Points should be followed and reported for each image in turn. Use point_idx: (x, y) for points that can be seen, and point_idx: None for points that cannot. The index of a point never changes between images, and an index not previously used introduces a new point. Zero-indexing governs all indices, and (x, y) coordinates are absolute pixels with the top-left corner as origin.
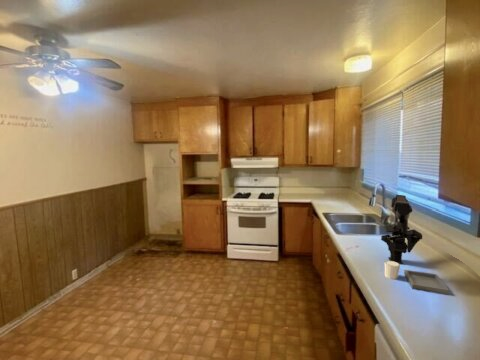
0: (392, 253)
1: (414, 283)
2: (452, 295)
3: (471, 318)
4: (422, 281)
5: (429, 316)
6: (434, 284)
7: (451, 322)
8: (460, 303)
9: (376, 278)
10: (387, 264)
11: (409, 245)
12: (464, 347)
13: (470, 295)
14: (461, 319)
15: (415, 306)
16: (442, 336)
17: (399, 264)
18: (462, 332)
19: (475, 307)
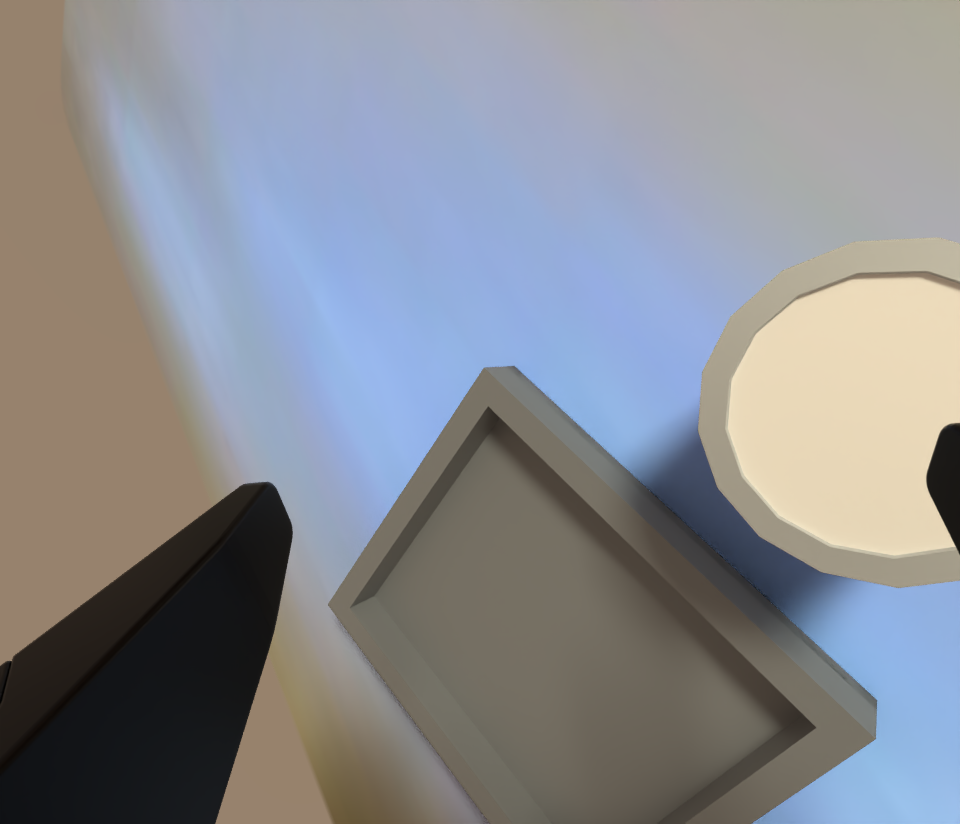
0: (947, 493)
1: (565, 490)
2: None
3: (183, 397)
4: (571, 635)
5: (230, 128)
6: (488, 678)
7: (180, 225)
8: None
9: (923, 72)
10: (872, 243)
11: (54, 644)
12: (83, 96)
13: (322, 742)
14: (186, 322)
15: (317, 120)
16: (128, 45)
17: (759, 522)
18: (131, 200)
19: None
